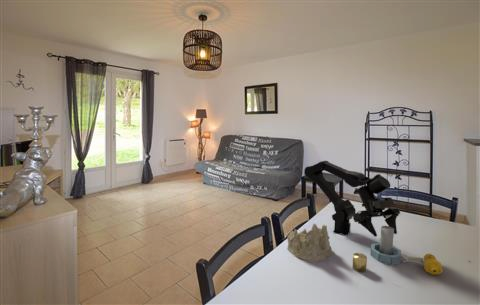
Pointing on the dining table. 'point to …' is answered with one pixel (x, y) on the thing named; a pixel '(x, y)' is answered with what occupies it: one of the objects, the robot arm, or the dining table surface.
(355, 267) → the short brass cylinder
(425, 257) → the pressure relief valve
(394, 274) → the dining table surface
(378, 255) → the collar
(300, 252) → the jagged beige rock
